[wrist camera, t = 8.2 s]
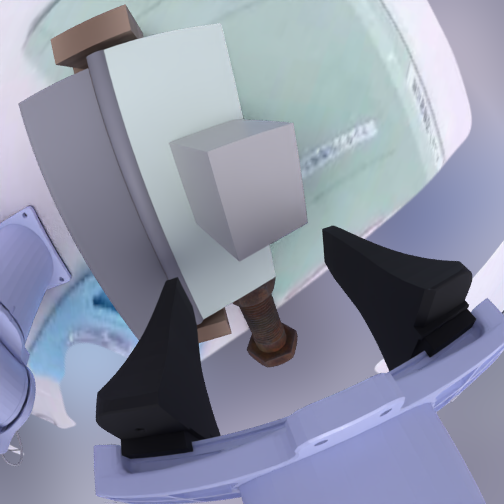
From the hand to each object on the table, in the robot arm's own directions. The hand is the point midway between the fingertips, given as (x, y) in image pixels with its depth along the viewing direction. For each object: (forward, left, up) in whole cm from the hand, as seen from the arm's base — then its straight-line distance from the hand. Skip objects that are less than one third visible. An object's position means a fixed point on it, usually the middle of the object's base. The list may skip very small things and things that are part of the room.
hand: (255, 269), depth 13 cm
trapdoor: (-4, +3, -7) cm, 8 cm away
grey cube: (0, +4, -5) cm, 6 cm away
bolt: (0, -11, -11) cm, 15 cm away
